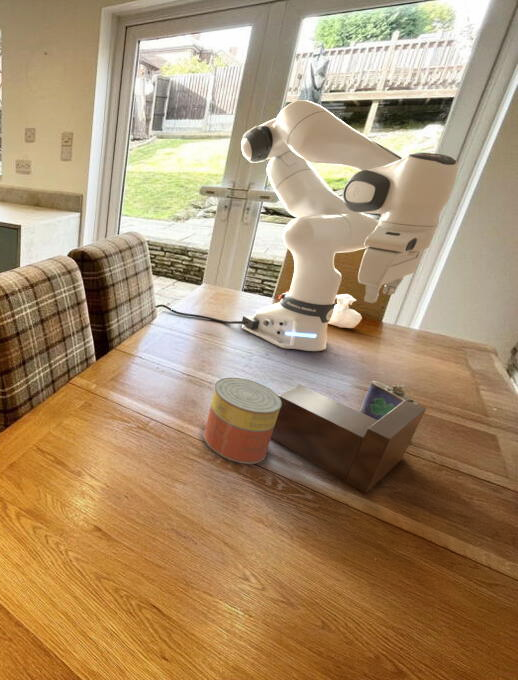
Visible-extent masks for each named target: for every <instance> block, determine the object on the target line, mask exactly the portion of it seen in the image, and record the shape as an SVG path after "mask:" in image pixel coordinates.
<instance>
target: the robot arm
mask: <svg viewBox="0 0 518 680" xmlns="http://www.w3.org/2000/svg"><path fill="white" fill-rule="evenodd" d="M240 147H241V152H242V155H243V157H244V159H245V160H246V161H248V162H250V163H251V164H257V163H262V162H265V161H266V160H269V161H268V164H267V166H266V174H267V176H268V180H269V182H270V184H271V187H272V188H273V191H274V192H275V194H276V196H277V197H278V199H279V200H280V202H281V203H282V205H283V207H284V208H285V210H286V211H287V213H289V214H290V215H291V216H293V217H295V218H294V219H291V220H290V221H289V222H288V223H286V226H285V228H284V229H283V233H282V240H283V244H284V246H285V247H286V249H288V250H289V251H290V253H291V255H292V258H293V263H294V269H293V274H292V275H293V276H292V280H291V284H290V288H289V290H286V291H285V292H284V293H282V294H280V295H278V298H277V300H279V302H276V303H273V304H269V305H266V306H264V307H262V308H260V309H258V310H257V311H256V312H255V313H254V315H253V316H252V315H243V316H242V319H241V320H232V321H231V320H230V321H229V320H224V319H223V320H222V319H219V318H215V317H211V316H207V315H201V314H194V313H186V312H181V311H177V310H174V309H173V308H171V307H169V306H167V305H165V304H157V305H155V306H154V308H156V309H158V308H165V309H166V310H168V311H170V312H171V313H174V314H176V315H179V316H186V317H194V318H200V319H205V320H210V321H213V322H217V323H221V324H228V325H234V324H235V325H238V324H239V325H242V326H241V328H242V329H243V330H244V331H247V332H249V333H251V334H253V335H255V336H257V337H259V338H261V339H263V340H265V341H267V342H269V343H271V344H273V345H275V346H277V347H279V348H281V349H286V350H287V349H288V350H289V349H290V350H291V349H292V350H298V351H299V350H300V351H306V352H320V351H321V352H322V351H324V350H326V349H327V333H328V327H329V324H328V322H329V321H330V319H331V317H332V315H333V312H334V307H335V305H336V302H335V301H336V299H337V298H336V295H338V292H339V289H340V285H341V283H342V280H343V279H342V274H341V272H339V270H338V269H336V268H335V256H336V254H339V253H340V254H341V253H353V252H358V251H360V250H363V249H365V250H364V253H363V256H362V259H361V262H360V266H359V270H358V273H357V281H358V283H359V284H362V285H365V295H364V298H363V301H364V303H365V302H366V303H369V304H374V303H376V302H377V301H378V298H379V296H380V294H379V292H380V289H382V286H384V287H383V289H382V294H384V295H387V296H393V295H395V294H396V291H397V289H398V287H399V286H400V285H401V283H402V281H403V280H404V278H405V277H406V276H409V275H411V274H414V273H415V271H416V270H417V268H418V266H419V264H420V260H421V257H422V255H423V251H424V250H426V249H429V248H430V246H431V244H432V241H433V239H434V236H435V234H436V231H437V228H438V226H439V224H440V214H441V212H442V210H443V209H444V207H445V206H446V205H447V203H448V202H449V199H450V196H451V194H452V191H453V189H454V187H455V182H456V179H457V175H458V162H457V160H456V159H455V158H453V157H452V156H449V155H445V154H440V153H434V152H433V153H432V152H413V153H408V154H406V155H404V156H403V157H402V156H400V155H398V154H397V153H395V152H393V151H392V150H390V149H389V148H387V147H385V146H384V145H382V144H381V143H379V142H377V141H375V140H373V139H372V138H369V137H368V136H366V135H364V134H363V133H361V131H358V130H356V129H355V128H353V127H351V126H350V125H348V124H347V123H346V122H344V121H343V120H342V119H340V118H339V117H337V116H336V115H334V113H332V112H330V111H329V110H328V109H326V108H325V107H323V106H322V105H320V104H318V103H315V102H313V101H310V100H306V99H299V100H295V101H293V102H290V103H289V104H287V105H286V106H284V107H283V108H282V109H281V110H280V112H279V113H278V114H277V116H276V118H273V119H271V120H268V121H265V122H264V123H262V124H260V125H255V126H254V127H251V128H250V129H248V130H247V131H246V132H245V133H244V134H243V136H242V138H241V140H240ZM312 163H314V164H323V165H336V166H337V165H338V166H343V167H349V168H353V169H355V170H357V171H358V172H356V173H354V174H353V175H352V176H351V177H350V178H349V179H348V180H347V182H346V183H345V186H344V187H343V191H342V198H341V196H339V194H337V193H335V192H334V191H333V190H332V189H331V188H330V186H329V185H328V184H327V183H326V181H325V180H324V179H323V178H322V176H321V175H320V173H319V172H318V171H317V169H316V168H315V167H314V166H313V164H312ZM368 214H378V215H379V214H380V216H379V219H378V220H377V219H376V218H375V217H373V216H370V215H368ZM171 309H172V310H171Z"/></svg>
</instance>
